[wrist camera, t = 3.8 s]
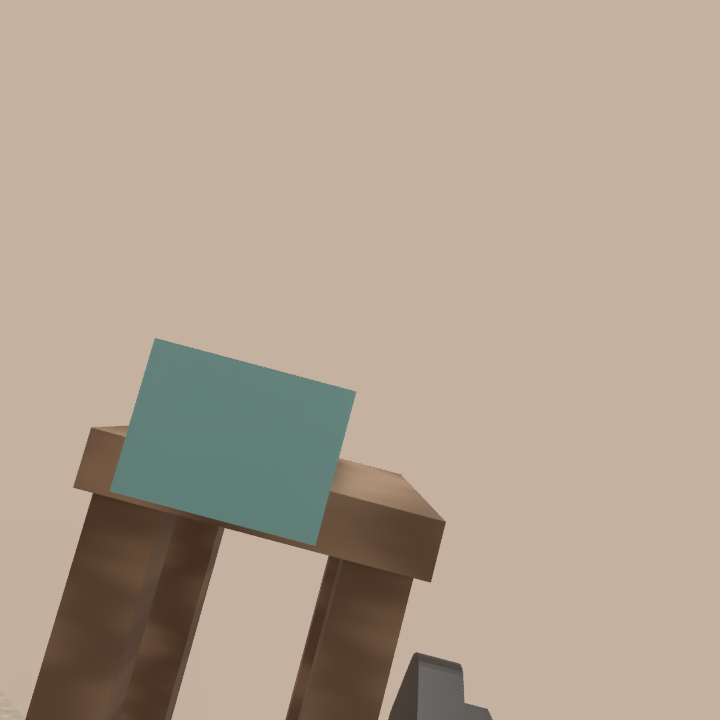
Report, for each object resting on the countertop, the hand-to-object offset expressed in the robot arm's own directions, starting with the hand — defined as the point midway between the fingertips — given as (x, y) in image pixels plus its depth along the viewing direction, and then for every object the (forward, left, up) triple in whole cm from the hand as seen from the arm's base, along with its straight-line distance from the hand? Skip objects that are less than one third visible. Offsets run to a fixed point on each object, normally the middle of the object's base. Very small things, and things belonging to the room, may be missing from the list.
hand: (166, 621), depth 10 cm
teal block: (0, +13, +1) cm, 14 cm away
